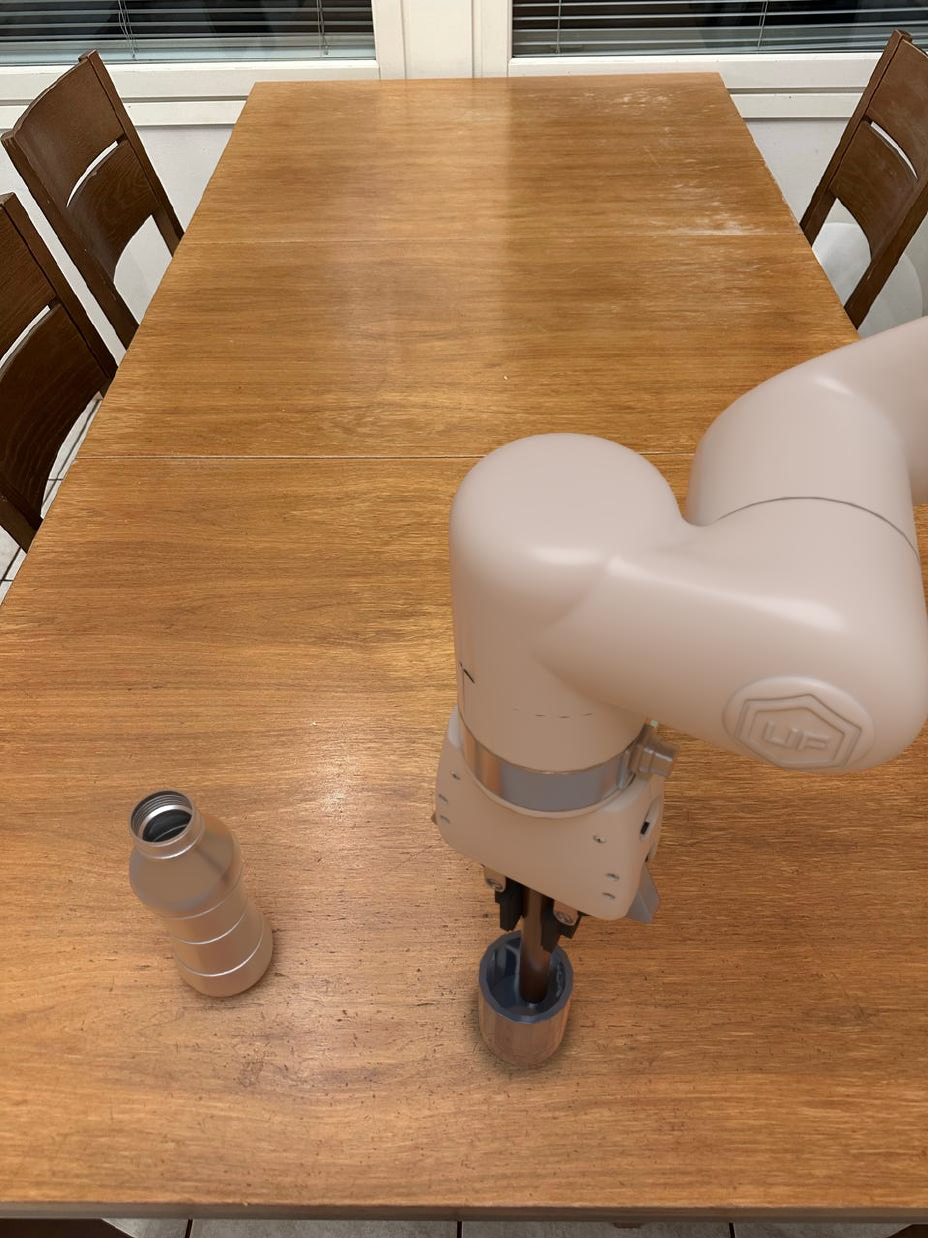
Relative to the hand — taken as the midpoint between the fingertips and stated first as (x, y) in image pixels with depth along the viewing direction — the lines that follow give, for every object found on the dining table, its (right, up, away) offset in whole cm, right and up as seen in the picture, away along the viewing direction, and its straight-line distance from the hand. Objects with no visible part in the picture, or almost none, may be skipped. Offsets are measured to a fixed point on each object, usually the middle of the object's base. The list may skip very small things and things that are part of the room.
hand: (537, 917), depth 52 cm
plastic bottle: (-21, -8, +15) cm, 27 cm away
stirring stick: (0, -7, +8) cm, 11 cm away
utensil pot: (0, -11, +12) cm, 16 cm away
